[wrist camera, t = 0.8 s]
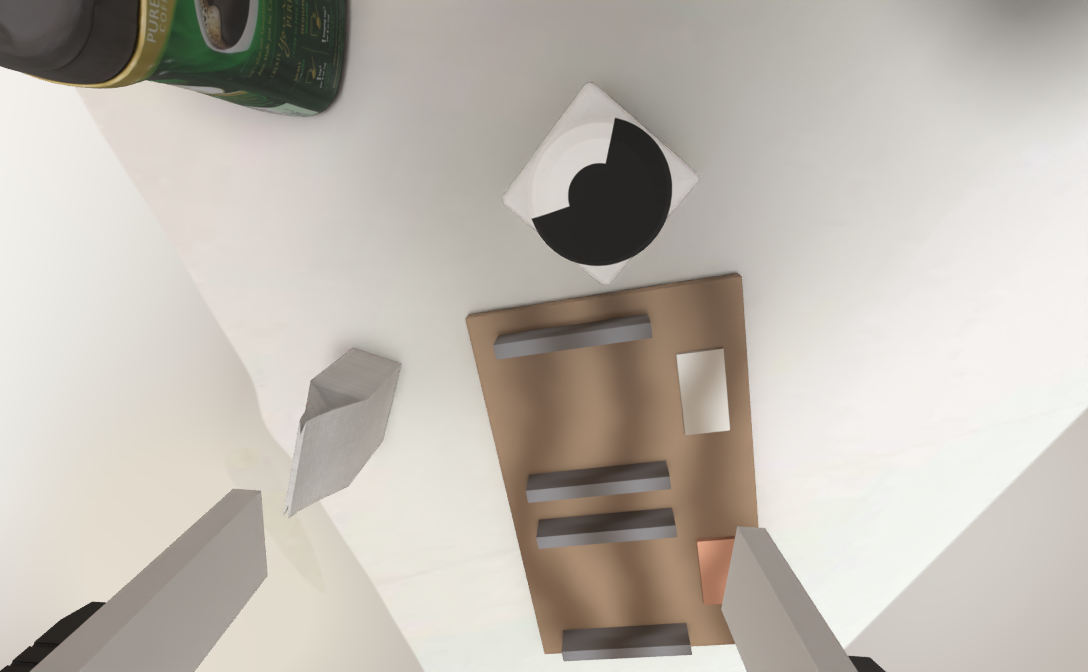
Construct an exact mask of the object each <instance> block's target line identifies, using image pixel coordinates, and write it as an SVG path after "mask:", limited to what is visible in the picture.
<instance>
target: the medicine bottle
mask: <svg viewBox="0 0 1088 672" xmlns="http://www.w3.org/2000/svg"><path fill="white" fill-rule="evenodd" d="M697 181H698V175H697V173H696V172H695V171H694V170H692V169H691V168H690V167H689V166H688V165H687V164H686V163H684V162H683V161H682V160H681V159H680V158H679V157H678V156H677V155H675V154H674V153H673V152H672V151H671V150H670V149H669V148H667V147H666V146H665V145H664V144H663V143H662V142H661V141H659V140H658V139H657V138H656V137H655V136H654V135H653V134H651V133H650V132H649V131H648V130H647V129H646V128H645V127H644V126H642V125H641V124H640V123H639V122H638V121H637V120H636V119H634V118H633V117H632V116H631V115H630V114H629V113H628V112H626V111H625V110H624V109H623V108H622V107H621V106H620V105H619V104H617V103H616V102H615V101H614V100H613V99H612V98H611V97H609V96H608V95H607V94H606V93H605V92H604V91H603V90H601V89H600V88H599V87H598V86H597V85H596V84H594V83H592V82H590V83H587V84H585V85H584V86H583V88H582V89H581V90H580V92H579V93H578V94H577V96H576V97H575V99H574V100H573V101H572V103H571V104H570V105H569V107H568V108H567V109H566V111H565V112H564V114H563V115H562V116H561V118H560V119H559V120H558V122H557V123H556V124H555V126H554V127H553V129H552V130H551V131H550V133H549V134H548V135H547V137H546V138H545V139H544V141H543V142H542V143H541V145H540V146H539V148H538V149H537V150H536V152H535V153H534V154H533V156H532V157H531V158H530V160H529V161H528V163H527V164H526V165H525V167H524V168H523V169H522V171H521V172H520V173H519V175H518V176H517V177H516V179H515V180H514V182H513V183H512V184H511V186H510V187H509V188H508V190H507V191H506V192H505V194H504V195H503V198H502V200H503V203H504V205H505V206H506V207H507V208H509V209H510V210H511V211H512V212H514V213H515V214H516V215H517V216H518V217H520V218H521V219H522V220H523V221H525V222H526V223H527V224H528V225H530V226H531V227H532V228H533V229H534V230H536V231H537V232H538V233H539V235H540V236H541V238H542V239H543V240H544V241H545V243H546V244H547V245H548V246H549V247H550V248H552V249H553V250H554V251H555V252H556V253H558V254H559V255H561V256H562V257H564V258H566V259H568V260H570V261H573V262H575V263H576V264H577V265H579V266H580V267H581V268H582V269H583V270H585V271H586V272H587V273H588V274H590V275H591V276H592V277H593V278H594V279H596V280H597V281H598V282H599V283H601V284H603V285H607V284H609V283H610V282H611V281H612V280H613V279H614V278H615V277H616V276H617V274H618V273H619V272H620V271H621V270H622V269H623V267H624V266H625V265H626V264H627V263H628V262H629V261H630V259H631V258H632V257H633V256H635V255H637V254H638V253H639V252H641V251H642V250H644V249H645V248H646V247H647V246H648V245H649V244H650V243H651V242H652V241H653V240H654V238H655V237H656V236H657V235H658V233H659V232H660V230H661V228H662V227H663V225H664V223H665V220H666V218H667V217H668V216H669V215H670V213H671V212H672V211H673V210H674V209H675V208H676V207H677V205H678V204H679V203H680V202H681V201H682V200H683V198H684V197H685V196H686V195H687V194H688V193H689V192H690V190H691V189H692V188H693V187H694V186H695V185H696V183H697Z"/></svg>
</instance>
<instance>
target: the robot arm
mask: <svg viewBox="0 0 1088 672" xmlns="http://www.w3.org/2000/svg"><path fill="white" fill-rule="evenodd" d="M266 577H267V563H266V550H265V538H264V524H263V511H262V498H261V491H256V490H242V489H232V490H231V491H230V492H229V493H228V494H227V495H226V496H225V497H223V498H222V499H221V500H220V501H219V502H218V503H217V504H216V505H215V506H213V508H211V509H210V510H209V511H208V512H207V513H206V514H205V515H203V516H202V517H201V518H200V519H199V520H198V521H197V522H196V523H195V524H193V525H192V526H191V527H190V528H189V529H188V530H187V531H186V532H185V533H183V534H182V535H181V536H180V537H179V538H178V539H177V540H176V541H175V542H173V543H172V544H171V545H170V546H169V547H168V548H167V549H166V550H165V551H164V552H162V553H161V554H160V555H159V556H158V557H157V558H156V559H154V560H153V561H152V562H151V563H150V564H149V565H148V566H147V567H146V568H144V569H143V570H142V571H141V572H140V573H139V574H138V575H137V576H136V577H134V578H133V579H132V580H131V581H130V582H129V583H128V584H127V585H126V586H125V587H123V588H122V589H121V590H120V591H119V592H118V593H117V594H116V595H114V596H113V597H112V598H111V599H110V600H109V601H108V602H107V603H105V602H91V603H89V604H87V605H86V606H84V607H82V608H80V609H79V610H77V611H75V612H73V613H72V614H70V615H68V616H66V617H65V618H63V619H61V620H60V621H59V622H57V623H56V624H55V625H54V626H53V627H52V628H50V629H49V630H48V631H47V632H46V633H44V634H43V635H42V636H41V637H40V638H39V639H37V640H36V641H35V642H34V645H33V646H32V647H30V646H29V647H28V648H27V649H26V650H25V651H23V652H22V653H21V654H20V655H19V656H17V657H16V658H15V659H14V660H13V662H12V664H11V665H10V666H8V665H7V666H6V667H4V668H3V669H2V670H1V671H0V672H194V671H195V670H196V669H197V667H198V666H199V665H200V663H201V662H202V661H203V660H204V658H205V657H206V656H207V654H208V653H209V652H210V650H211V649H212V648H213V646H214V645H215V644H216V642H217V641H218V640H219V639H220V637H221V636H222V635H223V633H224V632H225V631H226V629H227V628H228V627H229V626H230V624H231V623H232V622H233V620H234V619H235V618H236V616H237V615H238V614H239V612H240V611H241V610H242V608H243V607H244V606H245V605H246V603H247V602H248V601H249V599H250V598H251V597H252V595H253V594H254V593H255V591H256V590H257V589H258V588H259V586H260V585H261V584H262V582H263V581H264V579H265V578H266ZM721 610H722V612H723V615H724V617H725V620H726V622H727V624H728V627H729V629H730V632H731V634H732V637H733V639H734V641H735V644H736V646H737V649H738V651H739V654H740V656H741V658H742V661H743V663H744V666H745V668H746V671H747V672H885V671H884V670H883V669H882V668H881V667H880V666H879V665H878V664H877V663H875V662H874V661H873V660H872V659H871V658H869V657H857V656H847V654H846V652H845V651H844V649H843V648H842V646H841V645H840V643H839V642H838V640H837V639H836V637H835V635H834V634H833V632H832V631H831V629H830V628H829V626H828V625H827V623H826V622H825V620H824V618H823V617H822V615H821V614H820V612H819V611H818V609H817V608H816V606H815V605H814V603H813V601H812V600H811V598H810V597H809V595H808V594H807V592H806V591H805V589H804V588H803V586H802V585H801V583H800V581H799V580H798V578H797V577H796V575H795V574H794V572H793V571H792V569H791V568H790V566H789V564H788V563H787V561H786V560H785V558H784V557H783V555H782V554H781V552H780V551H779V549H778V547H777V546H776V544H775V543H774V541H773V540H772V538H771V537H770V535H769V534H768V532H767V530H766V529H765V528H754V527H741V526H737V531H736V536H735V541H734V546H733V551H732V556H731V562H730V567H729V572H728V577H727V582H726V587H725V593H724V598H723V603H722V608H721Z"/></svg>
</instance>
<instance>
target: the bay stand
mask: <svg viewBox="0 0 1088 672" xmlns="http://www.w3.org/2000/svg"><path fill="white" fill-rule="evenodd" d="M466 324H467V328H468V332H469V336H470V340H471V345H472V349H473V353H474V357H475V362H476V366H477V370H478V374H479V378H480V383H481V387H482V391H483V395H484V400H485V404H486V408H487V412H488V416H489V421H490V425H491V429H492V433H493V437H494V442H495V446H496V450H497V454H498V459H499V463H500V467H501V471H502V475H503V480H504V484H505V488H506V492H507V497H508V501H509V505H510V509H511V513H512V518H513V522H514V526H515V530H516V535H517V539H518V543H519V547H520V551H521V556H522V560H523V564H524V568H525V572H526V577H527V581H528V585H529V589H530V594H531V598H532V602H533V606H534V610H535V615H536V619H537V623H538V627H539V632H540V636H541V640H542V644H543V648H544V653H545V654H556V653H562V656H563V660H564V661H578V660H598V659H618V658H637V657H657V656H677V655H692V652H691V646H707V645H726V644H735V641H734V639H733V637H732V634H731V632H730V629H729V627H728V624H727V622H726V620H725V617H724V615H723V612H722V610H721V608H722V603H723V598H724V593H725V587H726V582H727V577H728V572H729V567H730V562H731V556H732V551H733V546H734V541H735V536H736V531H737V526H741V527H754V528H758V514H757V499H756V484H755V469H754V454H753V439H752V424H751V409H750V394H749V379H748V364H747V349H746V334H745V319H744V304H743V289H742V276H740V275H739V274H738V273H736V274H730V275H723V276H717V277H710V278H704V279H697V280H691V281H684V282H678V283H671V284H665V285H658V286H652V287H645V288H639V289H632V290H626V291H619V292H613V293H606V294H600V295H593V296H587V297H580V298H574V299H567V300H560V301H554V302H547V303H541V304H534V305H528V306H521V307H515V308H508V309H502V310H495V311H489V312H482V313H476V314H469V315H468V316H467V317H466Z"/></svg>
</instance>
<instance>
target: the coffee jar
mask: <svg viewBox="0 0 1088 672" xmlns="http://www.w3.org/2000/svg"><path fill="white" fill-rule="evenodd" d="M344 40H345V0H0V66H1V67H5V68H8V69H11V70H15V71H19V72H22V73H24V74H27V75H29V76H32V77H35V78H38V79H41V80H45V81H48V82H52V83H57V84H62V85H67V86H75V87H85V88H118V87H124V86H129V85H132V84H135V83H138V82H141V81H144V80H148V81H153V82H158V83H164V84H168V85H173V86H177V87H181V88H184V89H188V90H192V91H196V92H199V93H203V94H206V95H209V96H212V97H216V98H219V99H222V100H225V101H228V102H231V103H235V104H238V105H242V106H245V107H248V108H252V109H256V110H260V111H264V112H269V113H274V114H281V115H288V116H302V117H304V116H311V115H315V114H318V113H320V112H322V111H323V110H325V109H326V108H327V107H328V106H329V105H330V103H331V102H332V101H333V99H334V97H335V95H336V92H337V89H338V86H339V80H340V75H341V69H342V62H343V54H344Z"/></svg>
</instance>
